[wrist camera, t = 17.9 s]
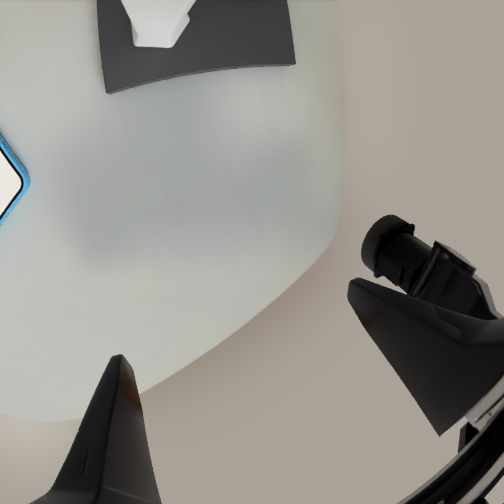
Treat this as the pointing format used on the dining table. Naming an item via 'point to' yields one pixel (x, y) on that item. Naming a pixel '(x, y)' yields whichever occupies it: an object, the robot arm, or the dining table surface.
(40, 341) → the dining table surface
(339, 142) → the dining table surface
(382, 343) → the robot arm
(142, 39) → the perfume bottle
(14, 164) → the smartphone
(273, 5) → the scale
